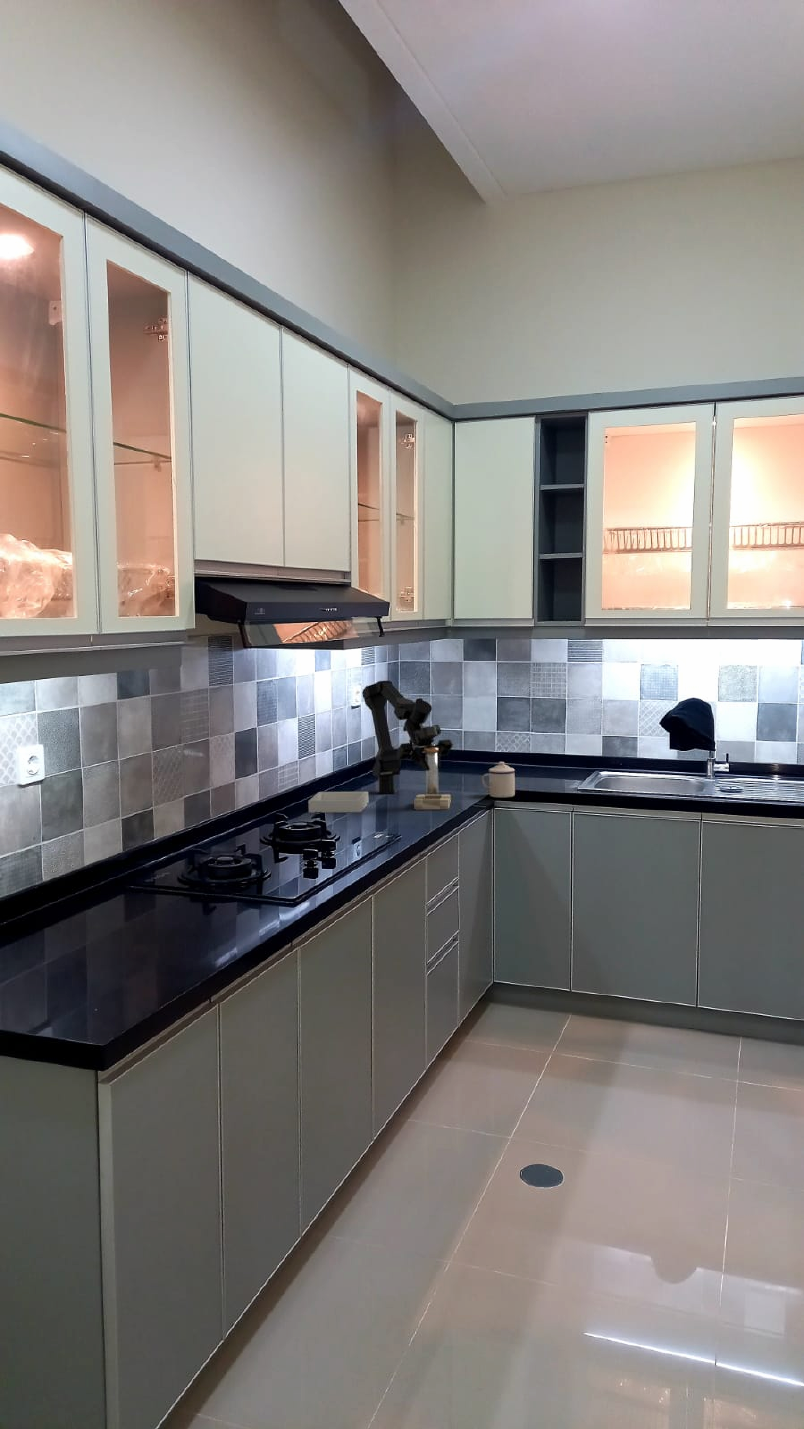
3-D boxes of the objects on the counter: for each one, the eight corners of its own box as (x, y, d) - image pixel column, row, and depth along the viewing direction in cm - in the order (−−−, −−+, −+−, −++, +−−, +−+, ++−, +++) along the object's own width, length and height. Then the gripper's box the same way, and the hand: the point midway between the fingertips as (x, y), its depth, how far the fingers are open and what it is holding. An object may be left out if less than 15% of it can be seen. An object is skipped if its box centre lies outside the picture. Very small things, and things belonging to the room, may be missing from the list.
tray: (319, 803, 346) (318, 792, 345) (368, 802, 344) (368, 791, 343) (308, 812, 329) (308, 801, 329) (360, 812, 327) (360, 800, 327)
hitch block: (417, 803, 340) (417, 794, 339) (450, 803, 338) (450, 794, 338) (414, 809, 329) (414, 800, 329) (448, 809, 328) (448, 800, 327)
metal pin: (425, 792, 336) (424, 747, 335) (440, 792, 335) (439, 746, 334) (424, 794, 331) (423, 749, 330) (439, 794, 331) (438, 748, 329)
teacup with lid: (519, 794, 352) (519, 760, 351) (509, 798, 344) (508, 764, 343) (488, 792, 358) (487, 759, 357) (477, 796, 350) (476, 762, 349)
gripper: (399, 719, 330) (416, 756, 321) (449, 715, 339) (467, 751, 330) (389, 740, 338) (405, 777, 329) (438, 736, 346) (455, 772, 338)
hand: (433, 769), depth 331 cm, fingers closed on metal pin, 4 cm apart
